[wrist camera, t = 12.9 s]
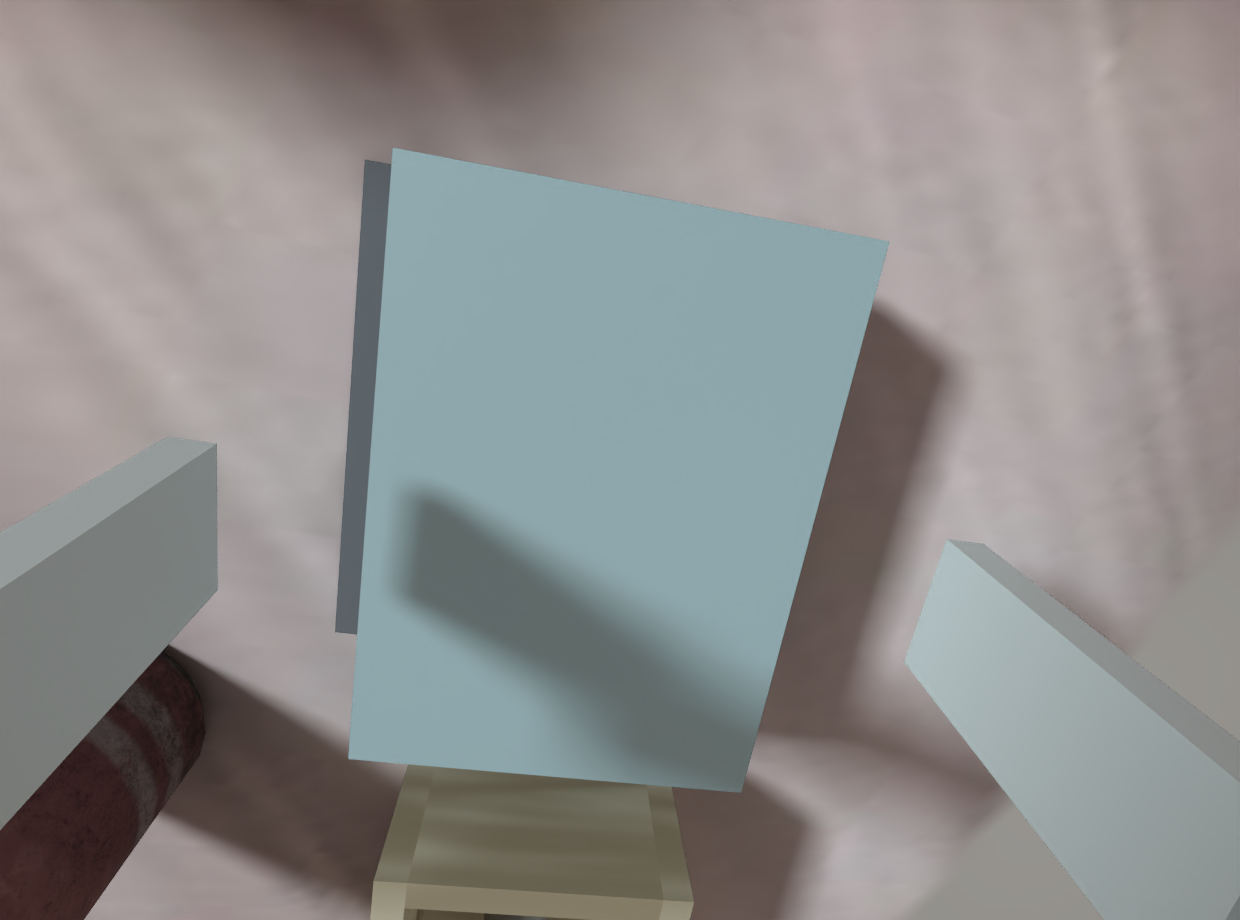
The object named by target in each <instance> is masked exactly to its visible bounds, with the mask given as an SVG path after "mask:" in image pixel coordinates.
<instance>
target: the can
mask: <svg viewBox="0 0 1240 920" xmlns="http://www.w3.org/2000/svg"><path fill="white" fill-rule="evenodd" d="M204 736H205V724H204V717H203V710H202V704H201V699H200V696H199V694H198V692H197V690H196V688H195V686H194V684H193V683H192V681H191V679H190V677H189V675H188V674H187V673H186V672H185V671H184V670H183V669H182V668H181V667H180V666H179V665H178V664H176V663H175V662H174V661H173V660H172V659H171V658H170V657H169V656H167V655H166V654H164V653H162V652H161V653H160V654H159V655H158V656H157V657H156V659H155V660H154V661H153V662H152V663H151V664H150V665H149V666H148V667H147V669H146V670H145V671H144V672H143V673H142V674H141V675H140V676H139V677H138V678H137V680H136V681H135V682H134V683H133V684H132V685H131V686H130V687H129V688H128V690H127V691H126V692H125V693H124V694H123V695H122V696H121V697H120V698H119V699H118V701H117V702H116V703H115V704H114V705H113V706H112V707H111V708H110V709H109V711H108V712H107V713H106V714H105V715H104V716H103V717H102V718H101V719H100V720H99V722H98V723H97V724H96V725H95V726H94V727H93V728H92V729H91V730H90V732H89V733H88V734H87V735H86V736H85V737H84V738H83V739H82V740H81V741H80V743H79V744H78V745H77V746H76V747H75V748H74V749H73V750H72V751H71V753H70V754H69V755H68V756H67V757H66V758H65V759H64V760H63V761H62V762H61V764H60V765H59V766H58V767H57V768H56V769H55V770H54V771H53V772H52V774H51V775H50V776H49V777H48V778H47V779H46V780H45V781H44V782H43V783H42V785H41V786H40V787H39V788H38V789H37V790H36V791H35V792H34V793H33V795H32V796H31V797H30V798H29V799H28V800H27V801H26V802H25V803H24V804H23V806H22V807H21V808H20V809H19V810H18V811H17V812H16V813H15V814H14V816H13V817H12V818H11V819H10V820H9V821H8V822H7V823H6V824H5V825H4V827H3V828H2V829H1V830H0V920H84V919H85V917H86V916H87V914H88V913H89V912H90V910H91V909H92V907H93V906H94V905H95V903H96V902H97V900H98V899H99V897H100V896H101V895H102V893H103V892H104V890H105V889H106V887H107V886H108V885H109V883H110V882H111V880H112V879H113V877H114V876H115V875H116V873H117V872H118V870H119V869H120V868H121V866H122V865H123V863H124V862H125V860H126V859H127V858H128V856H129V855H130V853H131V852H132V850H133V849H134V848H135V846H136V845H137V843H138V842H139V841H140V839H141V838H142V836H143V835H144V833H145V832H146V831H147V829H148V828H149V826H150V825H151V823H152V822H153V821H154V819H155V818H156V816H157V815H158V813H159V812H160V811H161V809H162V808H163V806H164V805H165V804H166V802H167V801H168V799H169V798H170V796H171V795H172V794H173V792H174V791H175V789H176V788H177V786H178V785H179V784H180V782H181V781H182V779H183V778H184V777H185V775H186V774H187V772H188V771H189V769H190V768H191V767H192V765H193V764H194V762H195V761H196V759H197V758H198V757H199V755H200V751H201V747H202V743H203V740H204Z"/></svg>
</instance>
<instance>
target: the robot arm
mask: <svg viewBox="0 0 1240 920" xmlns="http://www.w3.org/2000/svg"><path fill="white" fill-rule="evenodd" d="M217 590H218V578H217V443H210V442H202V441H194V440H187V439H179V438H171V437H167V438H165V439H163V440H161V441H160V442H158V443H156V444H154V445H153V446H151V447H149V448H147V449H146V450H144V451H142V452H140V453H138V454H137V455H135V456H133V457H131V458H130V459H128V460H126V461H124V462H123V463H121V464H119V465H117V466H116V467H114V468H112V469H110V470H109V471H107V472H105V473H103V474H102V475H100V476H98V477H96V478H95V479H93V480H91V481H89V482H88V483H86V484H84V485H82V486H81V487H79V488H77V489H75V490H74V491H72V492H70V493H68V494H67V495H65V496H63V497H61V498H60V499H58V500H56V501H54V502H53V503H51V504H49V505H47V506H46V507H44V508H42V509H40V510H39V511H37V512H35V513H33V514H32V515H30V516H28V517H26V518H25V519H23V520H21V521H19V522H18V523H16V524H14V525H12V526H11V527H9V528H7V529H5V530H4V531H2V532H0V830H1V829H2V828H3V827H4V825H5V824H6V823H7V822H8V821H9V820H10V819H11V818H12V817H13V816H14V814H15V813H16V812H17V811H18V810H19V809H20V808H21V807H22V806H23V804H24V803H25V802H26V801H27V800H28V799H29V798H30V797H31V796H32V795H33V793H34V792H35V791H36V790H37V789H38V788H39V787H40V786H41V785H42V783H43V782H44V781H45V780H46V779H47V778H48V777H49V776H50V775H51V774H52V772H53V771H54V770H55V769H56V768H57V767H58V766H59V765H60V764H61V762H62V761H63V760H64V759H65V758H66V757H67V756H68V755H69V754H70V753H71V751H72V750H73V749H74V748H75V747H76V746H77V745H78V744H79V743H80V741H81V740H82V739H83V738H84V737H85V736H86V735H87V734H88V733H89V732H90V730H91V729H92V728H93V727H94V726H95V725H96V724H97V723H98V722H99V720H100V719H101V718H102V717H103V716H104V715H105V714H106V713H107V712H108V711H109V709H110V708H111V707H112V706H113V705H114V704H115V703H116V702H117V701H118V699H119V698H120V697H121V696H122V695H123V694H124V693H125V692H126V691H127V690H128V688H129V687H130V686H131V685H132V684H133V683H134V682H135V681H136V680H137V678H138V677H139V676H140V675H141V674H142V673H143V672H144V671H145V670H146V669H147V667H148V666H149V665H150V664H151V663H152V662H153V661H154V660H155V659H156V657H157V656H158V655H159V654H160V653H161V652H162V651H163V650H164V649H165V648H166V646H167V645H168V644H169V643H170V642H171V641H172V640H173V639H174V638H175V636H176V635H177V634H178V633H179V632H180V631H181V630H182V629H183V628H184V627H185V625H186V624H187V623H188V622H189V621H190V620H191V619H192V618H193V617H194V616H195V614H196V613H197V612H198V611H199V610H200V609H201V608H202V607H203V606H204V604H205V603H206V602H207V601H208V600H209V599H210V598H211V597H212V596H213V595H214V593H215V592H216V591H217ZM904 662H905V664H906V665H907V666H908V668H909V669H910V670H911V671H912V673H913V674H914V675H915V677H916V678H917V679H918V680H919V682H920V683H921V684H922V686H923V687H924V688H925V690H926V691H927V692H928V693H929V695H930V696H931V697H932V699H933V700H934V701H935V702H936V704H937V705H938V706H939V708H940V709H941V710H942V711H943V713H944V714H945V715H946V717H947V718H948V719H949V720H950V722H951V723H952V724H953V726H954V727H955V728H956V729H957V731H958V732H959V733H960V735H961V736H962V737H963V739H964V740H965V741H966V742H967V744H968V745H969V746H970V748H971V749H972V750H973V751H974V753H975V754H976V755H977V757H978V758H979V759H980V760H981V762H982V763H983V764H984V766H985V767H986V768H987V769H988V771H989V772H990V773H991V775H992V776H993V777H994V778H995V780H996V781H997V782H998V784H999V785H1000V786H1001V787H1002V789H1003V790H1004V791H1005V793H1006V794H1007V795H1008V797H1009V798H1010V799H1011V800H1012V802H1013V803H1014V804H1015V806H1016V807H1017V808H1018V809H1019V811H1020V812H1021V813H1022V815H1023V816H1024V817H1025V818H1026V820H1027V821H1028V822H1029V823H1030V825H1031V826H1032V827H1033V829H1034V830H1035V831H1036V833H1037V834H1038V835H1039V836H1040V838H1041V839H1042V840H1043V841H1044V843H1045V844H1046V845H1047V847H1048V848H1049V849H1050V851H1051V852H1052V853H1053V855H1054V856H1055V857H1056V858H1057V860H1058V861H1059V862H1060V864H1061V865H1062V866H1063V867H1064V869H1065V870H1066V871H1067V872H1068V874H1069V875H1070V876H1071V878H1072V879H1073V880H1074V882H1075V883H1076V884H1077V885H1078V887H1079V888H1080V889H1081V891H1082V892H1083V893H1084V894H1085V896H1086V897H1087V898H1088V900H1089V901H1090V902H1091V904H1092V905H1093V906H1094V907H1095V909H1096V910H1097V911H1098V913H1099V914H1100V915H1101V916H1102V918H1103V919H1104V920H1240V741H1238V740H1237V739H1235V738H1234V737H1233V736H1232V735H1231V734H1229V733H1228V732H1227V731H1225V730H1224V729H1223V728H1221V727H1220V726H1219V725H1218V724H1216V723H1215V722H1214V721H1212V720H1211V719H1210V718H1208V717H1207V716H1206V715H1205V714H1203V713H1202V712H1201V711H1199V710H1198V709H1196V707H1194V706H1193V705H1192V704H1190V703H1189V702H1188V701H1186V700H1185V699H1184V698H1183V697H1181V696H1180V695H1178V694H1177V693H1176V692H1175V691H1173V690H1172V689H1171V688H1170V687H1168V686H1167V685H1166V684H1164V683H1163V682H1162V681H1161V680H1159V679H1158V678H1156V677H1155V676H1154V675H1153V674H1151V673H1150V672H1149V671H1148V670H1146V669H1145V668H1144V667H1142V666H1141V665H1140V664H1139V663H1137V662H1136V661H1135V660H1133V659H1132V658H1131V657H1129V656H1128V655H1127V654H1126V653H1124V652H1123V651H1122V650H1120V649H1119V648H1118V647H1117V646H1115V645H1114V644H1113V643H1111V642H1110V641H1109V640H1107V639H1106V638H1105V637H1104V636H1102V635H1101V634H1100V633H1098V632H1097V631H1096V630H1095V629H1093V628H1092V627H1091V626H1089V625H1088V624H1087V623H1085V622H1084V621H1083V620H1082V619H1080V618H1079V617H1078V616H1076V615H1075V614H1074V613H1072V612H1071V611H1070V610H1069V609H1067V608H1066V607H1065V606H1063V605H1062V604H1061V603H1060V602H1058V601H1057V600H1056V599H1054V598H1053V597H1052V596H1050V595H1049V594H1048V593H1047V592H1045V591H1044V590H1043V589H1041V588H1040V587H1039V586H1038V585H1036V584H1035V583H1034V582H1032V581H1031V580H1030V579H1028V578H1027V577H1026V576H1025V575H1023V574H1022V573H1021V572H1019V571H1018V570H1017V569H1015V568H1014V567H1013V566H1012V565H1010V564H1009V563H1008V562H1006V561H1005V560H1004V559H1003V558H1001V557H1000V556H999V555H997V554H996V553H995V552H993V551H992V550H991V549H990V548H988V547H987V546H986V545H984V544H980V543H972V542H964V541H957V540H949V539H947V541H946V544H945V546H944V549H943V552H942V555H941V558H940V561H939V564H938V567H937V569H936V572H935V575H934V578H933V581H932V584H931V587H930V590H929V592H928V595H927V598H926V601H925V604H924V607H923V610H922V612H921V615H920V618H919V621H918V624H917V627H916V630H915V633H914V635H913V638H912V641H911V644H910V647H909V650H908V653H907V656H906V658H905V661H904Z"/></svg>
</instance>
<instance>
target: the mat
mask: <svg viewBox="0 0 1240 920" xmlns="http://www.w3.org/2000/svg"><path fill="white" fill-rule="evenodd" d="M390 179H391V164H385V163H380V162H375V161H369V160H365V167H364V183H363V199H362V215H361V231H360V247H359V263H358V278H357V294H356V310H355V326H354V342H353V358H352V374H351V389H350V405H349V421H348V437H347V453H346V469H345V485H344V501H343V516H342V532H341V548H340V564H339V580H338V596H337V612H336V628H335V632H339V633H348V634H357V631H358V617H359V603H360V589H361V576H362V562H363V548H364V535H365V521H366V507H367V494H368V480H369V466H370V453H371V439H372V425H373V412H374V398H375V384H376V370H377V357H378V343H379V329H380V316H381V302H382V288H383V275H384V261H385V247H386V234H387V220H388V206H389V192H390Z"/></svg>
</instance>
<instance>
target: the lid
mask: <svg viewBox="0 0 1240 920" xmlns="http://www.w3.org/2000/svg"><path fill="white" fill-rule="evenodd" d="M888 245H889V241H884V240H879V239H874V238H868V237H863V236H858V235H852V234H847V233H842V232H837V231H831V230H826V229H821V228H815V227H810V226H805V225H799V224H794V223H789V222H784V221H778V220H773V219H768V218H762V217H757V216H752V215H747V214H741V213H736V212H731V211H725V210H720V209H715V208H710V207H704V206H699V205H694V204H688V203H683V202H678V201H673V200H667V199H662V198H657V197H651V196H646V195H641V194H635V193H630V192H625V191H620V190H614V189H609V188H604V187H598V186H593V185H588V184H583V183H577V182H572V181H567V180H561V179H556V178H551V177H546V176H540V175H535V174H530V173H524V172H519V171H514V170H509V169H503V168H498V167H493V166H487V165H482V164H477V163H472V162H466V161H461V160H456V159H450V158H445V157H440V156H434V155H429V154H424V153H419V152H413V151H408V150H403V149H397V148H393V151H392V165H391V179H390V192H389V206H388V220H387V234H386V247H385V261H384V275H383V288H382V302H381V316H380V329H379V343H378V357H377V370H376V384H375V398H374V412H373V425H372V439H371V453H370V466H369V480H368V494H367V507H366V521H365V535H364V548H363V562H362V576H361V589H360V603H359V617H358V631H357V644H356V658H355V672H354V685H353V699H352V713H351V726H350V740H349V754H348V759H353V760H365V761H376V762H388V763H399V764H411V765H423V766H434V767H446V768H458V769H469V770H481V771H492V772H504V773H516V774H527V775H539V776H551V777H562V778H574V779H585V780H597V781H609V782H620V783H632V784H643V785H655V786H667V787H678V788H690V789H702V790H713V791H725V792H736V793H741V792H742V788H743V784H744V781H745V777H746V773H747V769H748V766H749V762H750V758H751V754H752V751H753V747H754V743H755V740H756V736H757V732H758V728H759V725H760V721H761V717H762V714H763V710H764V706H765V702H766V699H767V695H768V691H769V688H770V684H771V680H772V676H773V673H774V669H775V665H776V661H777V658H778V654H779V650H780V647H781V643H782V639H783V635H784V632H785V628H786V624H787V621H788V617H789V613H790V609H791V606H792V602H793V598H794V595H795V591H796V587H797V583H798V580H799V576H800V572H801V568H802V565H803V561H804V557H805V554H806V550H807V546H808V542H809V539H810V535H811V531H812V528H813V524H814V520H815V516H816V513H817V509H818V505H819V501H820V498H821V494H822V490H823V487H824V483H825V479H826V475H827V472H828V468H829V464H830V461H831V457H832V453H833V449H834V446H835V442H836V438H837V435H838V431H839V427H840V423H841V420H842V416H843V412H844V408H845V405H846V401H847V397H848V394H849V390H850V386H851V382H852V379H853V375H854V371H855V368H856V364H857V360H858V356H859V353H860V349H861V345H862V342H863V338H864V334H865V330H866V327H867V323H868V319H869V315H870V312H871V308H872V304H873V301H874V297H875V293H876V289H877V286H878V282H879V278H880V275H881V271H882V267H883V263H884V260H885V256H886V252H887V249H888Z"/></svg>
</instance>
